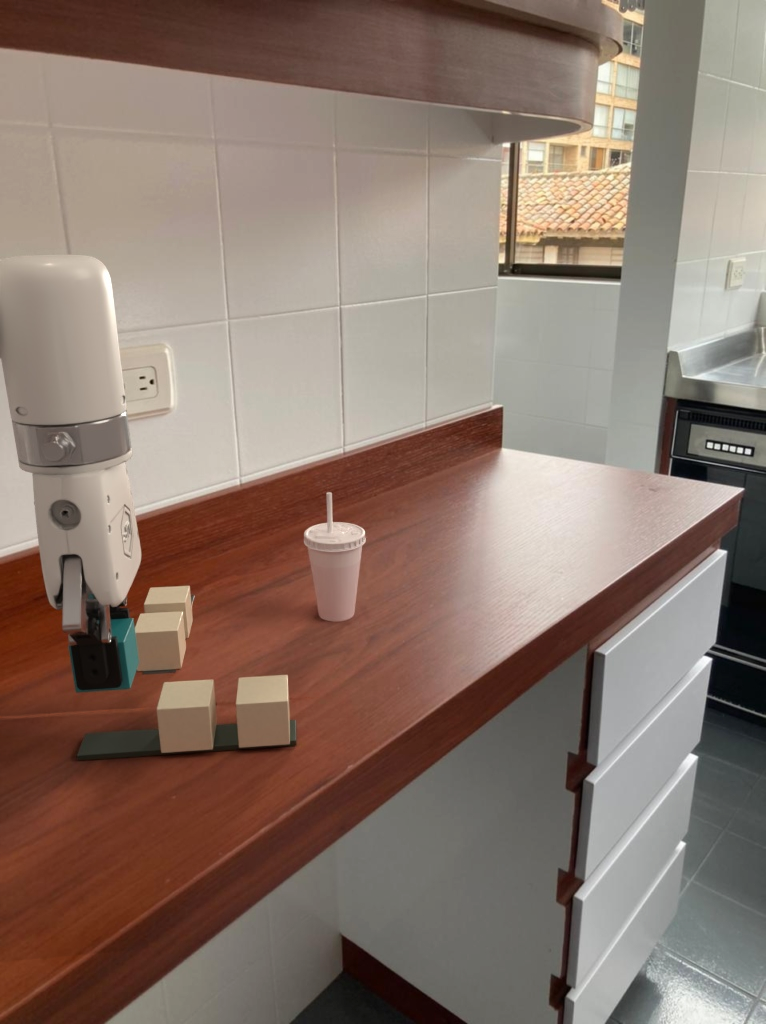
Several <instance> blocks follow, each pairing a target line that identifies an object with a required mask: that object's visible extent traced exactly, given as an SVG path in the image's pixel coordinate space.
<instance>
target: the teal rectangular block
mask: <svg viewBox="0 0 766 1024" xmlns="http://www.w3.org/2000/svg"><path fill="white" fill-rule="evenodd" d="M134 619H135V618H133V617H130V618H127V619H111V632H112V637H113V636H117V642H118V649H119V657H120V664H121V671H122V678H123V681H122V684H121V686H120V687H118V688H108V689H94V690H80V689H78V688H77V684H76V677H75V671H74V665H73V658H72V652H71V646H70V644H69V643H68V645H67V646H68V652H69V657H70V659H69V660H70V665H71V671H72V678H73V684H74V689H75V694H76V693H77V694H79V693H93V692H106V691H107V692H108V691H109V692H110V691H123V690H130V689H131V687H132V685H133V682H134V678H135V676H136V673H137V667H138V664H139V658H138V650H137V642H136V634H135V620H134ZM97 621H98V622H99V620H97Z"/></svg>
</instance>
